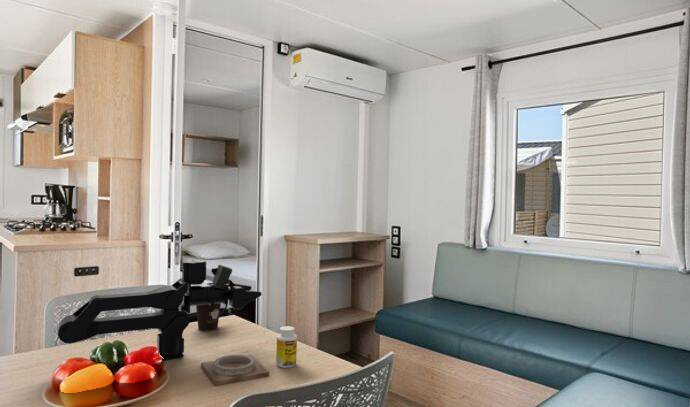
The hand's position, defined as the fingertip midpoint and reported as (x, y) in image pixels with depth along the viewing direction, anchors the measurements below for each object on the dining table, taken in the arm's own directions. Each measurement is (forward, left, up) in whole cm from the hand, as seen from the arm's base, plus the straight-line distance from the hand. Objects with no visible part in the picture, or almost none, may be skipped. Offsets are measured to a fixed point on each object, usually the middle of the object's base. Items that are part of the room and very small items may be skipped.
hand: (256, 290), depth 145 cm
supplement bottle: (+2, -21, -17) cm, 27 cm away
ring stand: (-12, -19, -17) cm, 28 cm away
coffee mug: (-7, +22, -17) cm, 29 cm away
